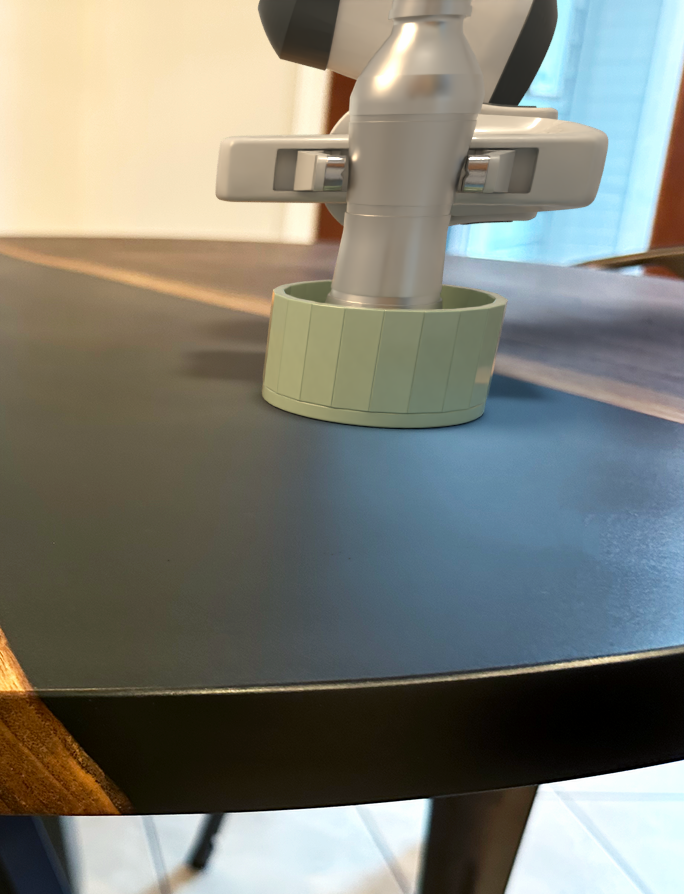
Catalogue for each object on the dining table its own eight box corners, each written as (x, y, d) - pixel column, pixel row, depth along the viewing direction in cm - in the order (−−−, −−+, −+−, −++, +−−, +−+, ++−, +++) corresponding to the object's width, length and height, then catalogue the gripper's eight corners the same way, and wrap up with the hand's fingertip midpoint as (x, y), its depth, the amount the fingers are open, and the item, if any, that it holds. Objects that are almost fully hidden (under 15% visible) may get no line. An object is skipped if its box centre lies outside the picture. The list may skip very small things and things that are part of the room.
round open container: (416, 375, 64) (433, 277, 62) (530, 425, 53) (557, 308, 51) (232, 380, 63) (243, 281, 61) (311, 431, 52) (327, 313, 50)
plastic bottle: (441, 374, 59) (515, -21, 51) (422, 399, 54) (502, -37, 46) (325, 362, 62) (379, -11, 54) (297, 385, 57) (351, -25, 49)
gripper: (229, 112, 67) (205, 111, 55) (584, 107, 60) (646, 104, 48) (219, 213, 69) (195, 233, 57) (560, 219, 63) (612, 242, 51)
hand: (404, 174), depth 53 cm, fingers closed on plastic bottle, 6 cm apart
